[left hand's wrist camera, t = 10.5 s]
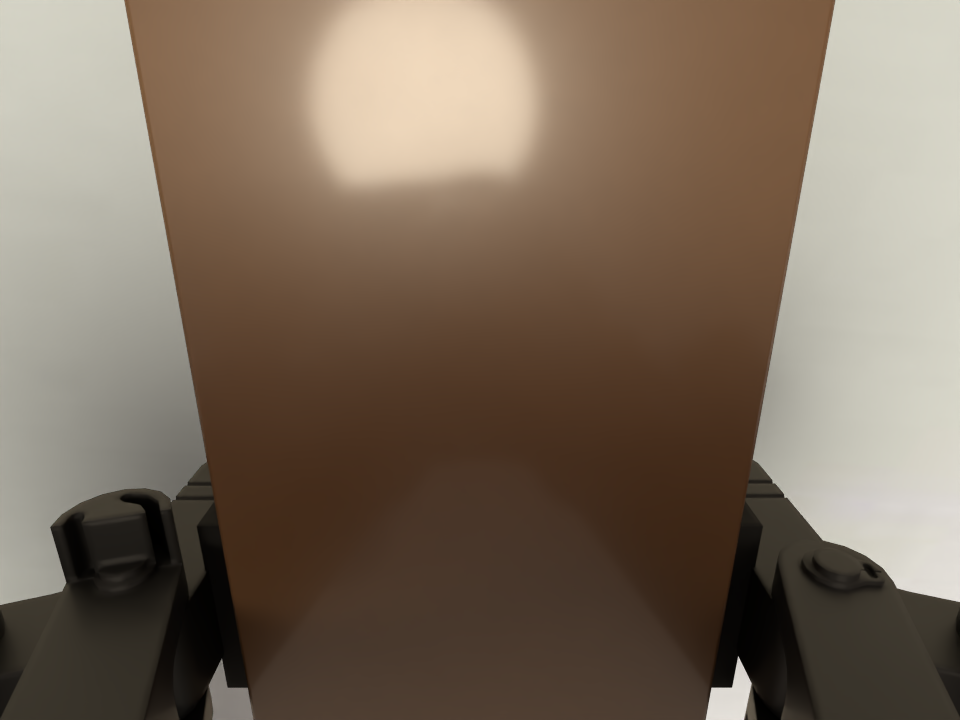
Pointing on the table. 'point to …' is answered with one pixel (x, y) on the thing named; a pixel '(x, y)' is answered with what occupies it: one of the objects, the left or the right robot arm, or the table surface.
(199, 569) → the left robot arm
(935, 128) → the table surface
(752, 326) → the thick board
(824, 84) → the table surface
